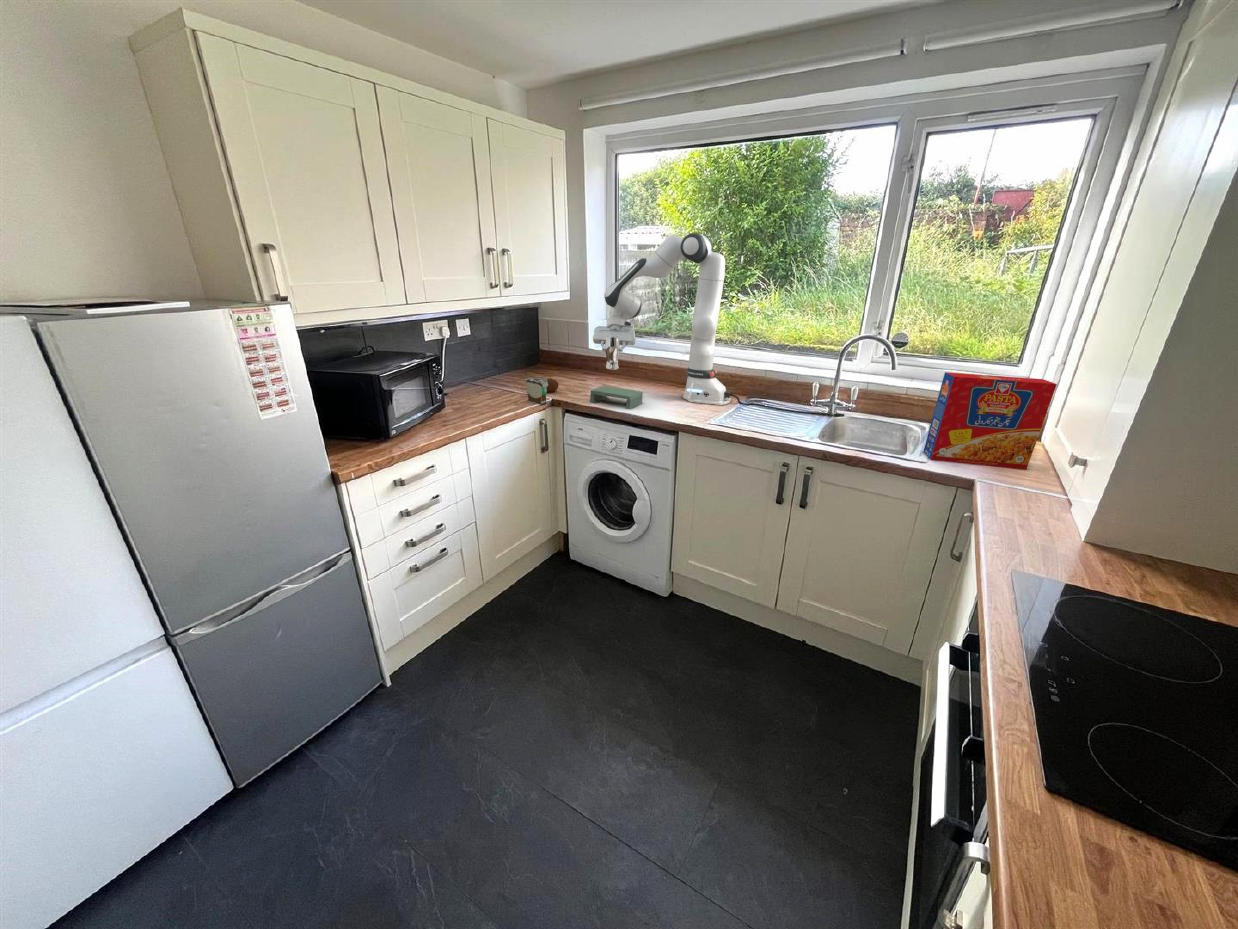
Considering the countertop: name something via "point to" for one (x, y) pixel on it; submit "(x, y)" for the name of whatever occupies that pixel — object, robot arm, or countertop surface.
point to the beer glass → (612, 351)
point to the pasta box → (988, 419)
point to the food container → (536, 390)
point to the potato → (552, 385)
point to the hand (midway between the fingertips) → (612, 350)
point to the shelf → (617, 395)
